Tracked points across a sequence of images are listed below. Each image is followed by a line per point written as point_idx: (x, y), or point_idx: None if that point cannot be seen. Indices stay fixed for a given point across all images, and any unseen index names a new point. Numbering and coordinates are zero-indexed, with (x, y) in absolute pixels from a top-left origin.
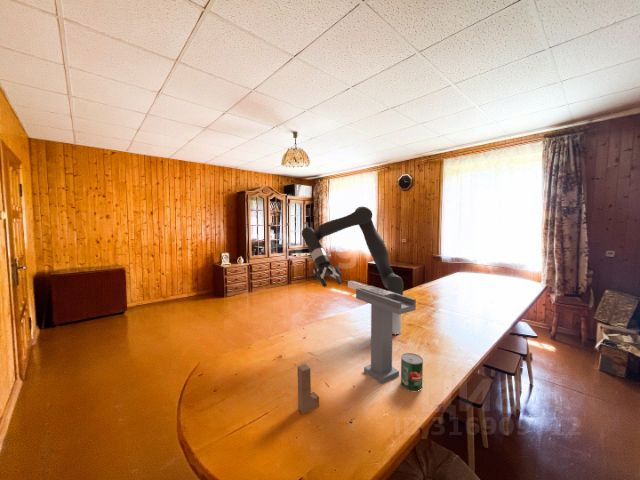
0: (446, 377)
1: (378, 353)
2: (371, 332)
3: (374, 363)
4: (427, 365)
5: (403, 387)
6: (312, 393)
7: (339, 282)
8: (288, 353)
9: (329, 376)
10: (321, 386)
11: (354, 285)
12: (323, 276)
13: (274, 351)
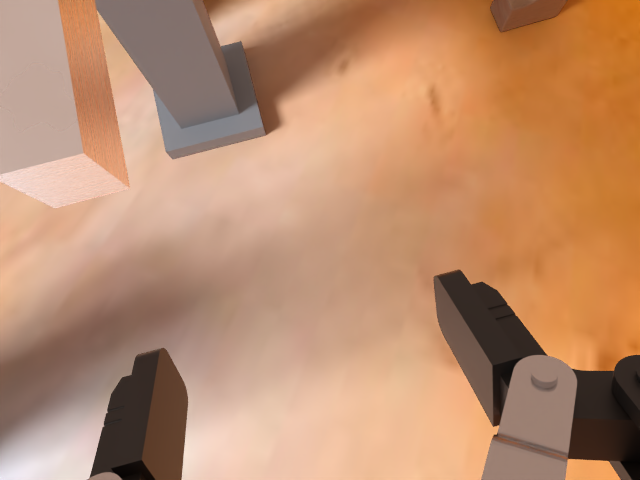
0: None
1: (210, 25)
2: (196, 10)
3: (228, 80)
4: None
5: None
6: (519, 1)
7: (167, 375)
8: None
9: (411, 143)
10: (457, 96)
11: (76, 21)
12: (514, 402)
13: None
